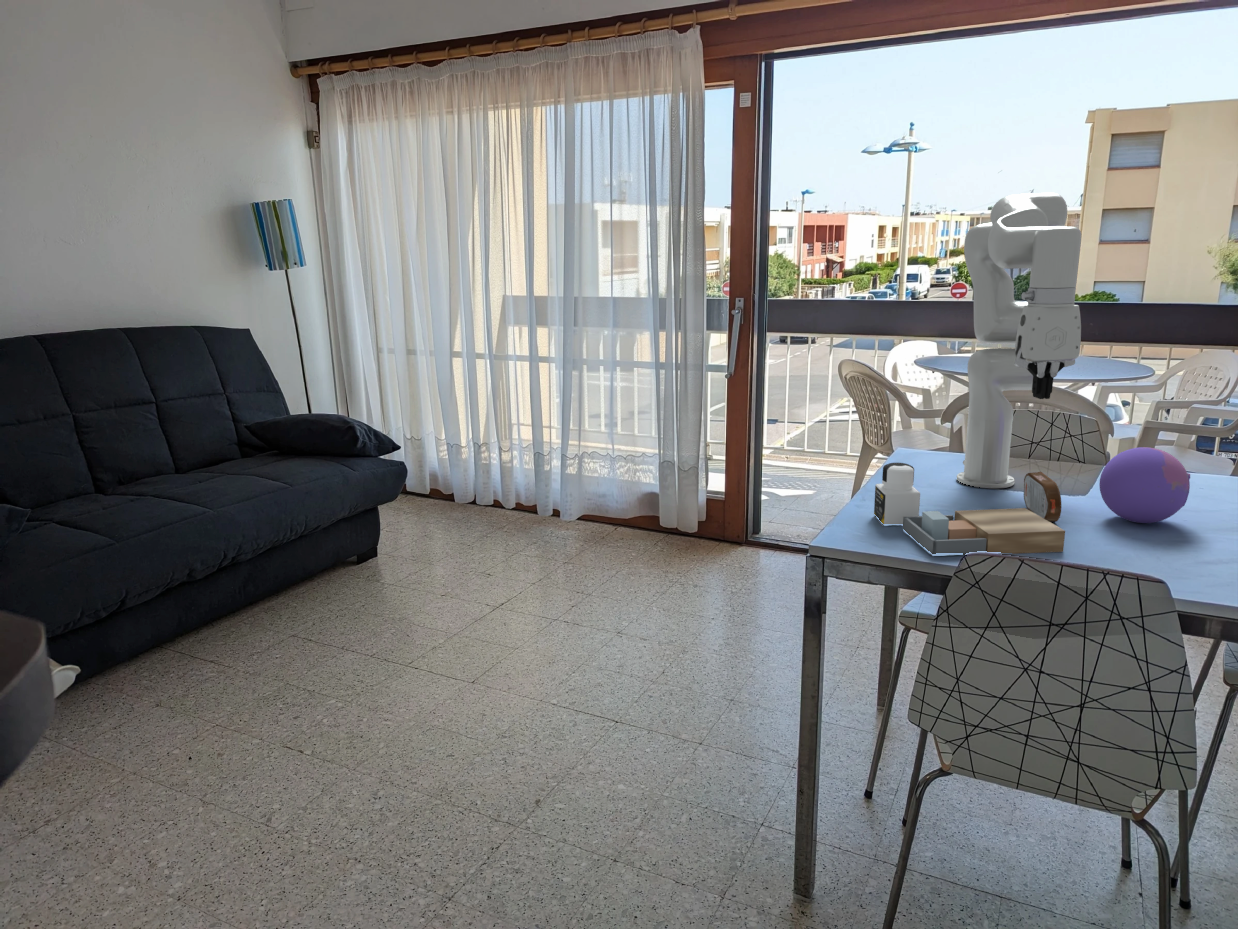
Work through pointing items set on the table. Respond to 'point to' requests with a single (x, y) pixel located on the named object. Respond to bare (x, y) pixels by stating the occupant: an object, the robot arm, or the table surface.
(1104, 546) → the table surface
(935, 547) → the tray
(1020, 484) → the table surface
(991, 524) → the board
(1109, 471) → the decorative ball
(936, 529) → the tile slate
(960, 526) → the tile terracotta
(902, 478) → the medicine bottle
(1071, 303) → the robot arm
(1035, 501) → the tin
